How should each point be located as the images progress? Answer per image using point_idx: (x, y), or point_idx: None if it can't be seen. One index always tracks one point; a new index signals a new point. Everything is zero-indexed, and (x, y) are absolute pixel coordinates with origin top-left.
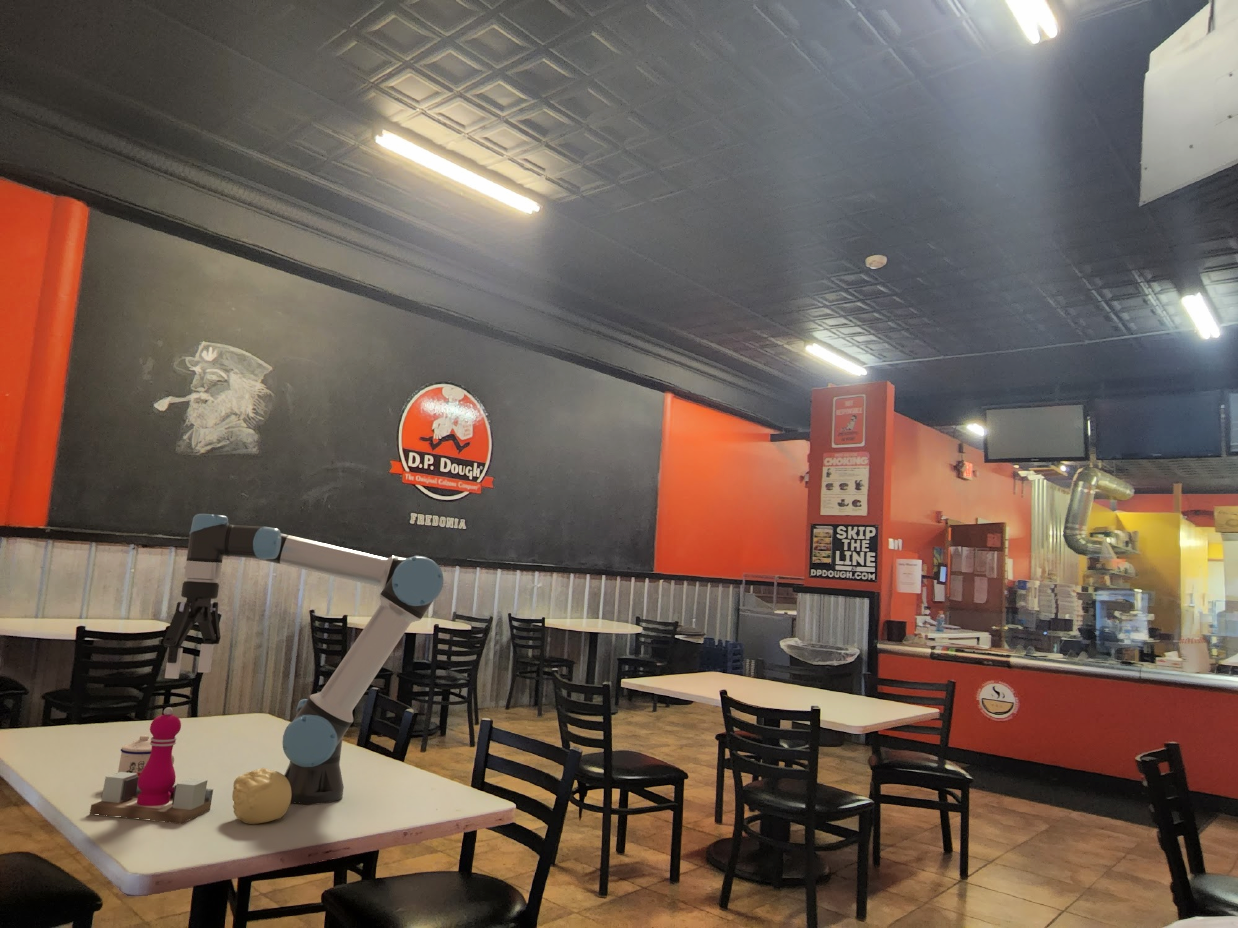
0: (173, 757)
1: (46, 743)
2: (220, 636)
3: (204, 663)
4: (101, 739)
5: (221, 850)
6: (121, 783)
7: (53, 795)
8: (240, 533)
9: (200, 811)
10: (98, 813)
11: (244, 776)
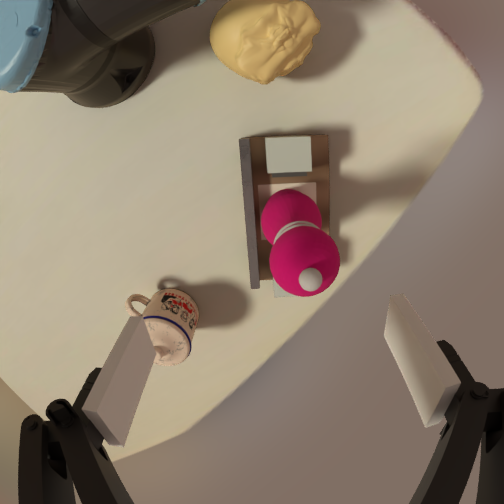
0: (128, 302)
1: None
2: (21, 427)
3: (138, 360)
4: None
5: (403, 35)
6: None
7: (261, 354)
8: None
9: (271, 136)
10: None
11: (275, 57)
